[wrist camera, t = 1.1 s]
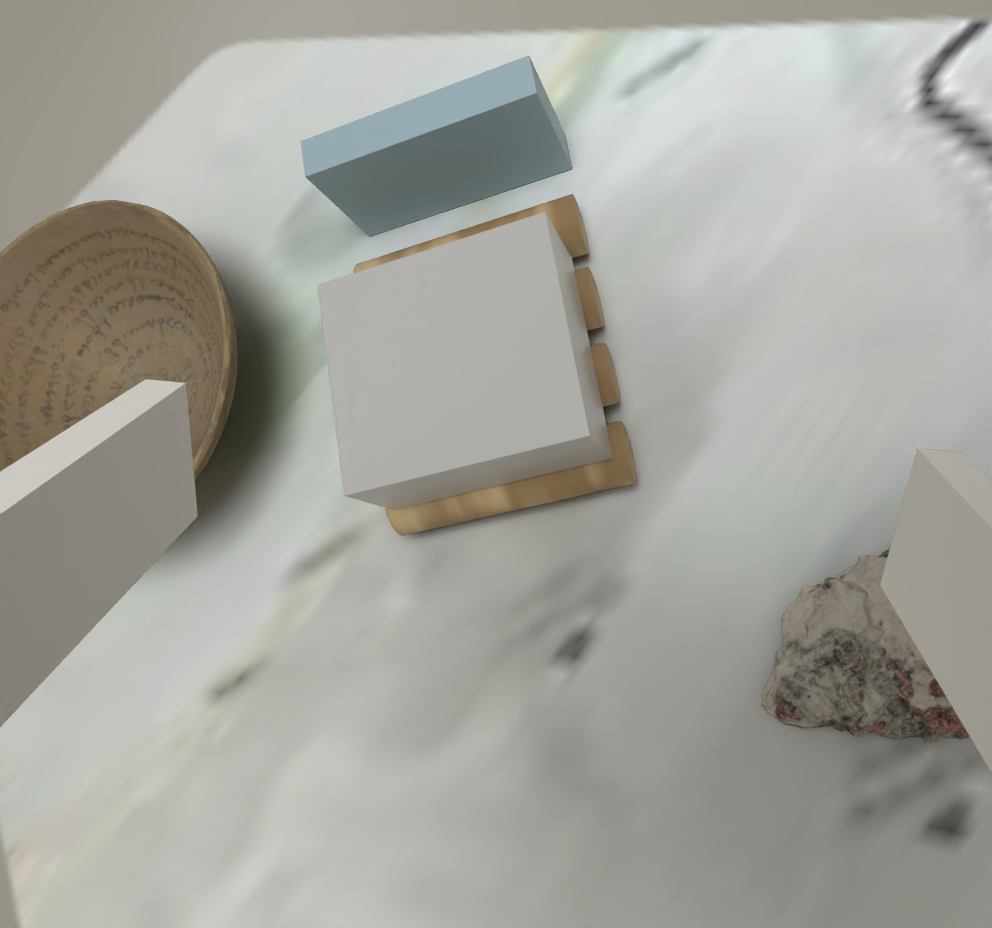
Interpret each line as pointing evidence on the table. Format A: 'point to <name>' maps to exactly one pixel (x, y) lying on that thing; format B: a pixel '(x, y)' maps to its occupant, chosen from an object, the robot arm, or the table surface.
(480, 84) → the fence
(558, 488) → the roller bed
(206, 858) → the table surface
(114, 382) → the bowl
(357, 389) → the slab
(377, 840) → the table surface
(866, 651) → the mineral rock
